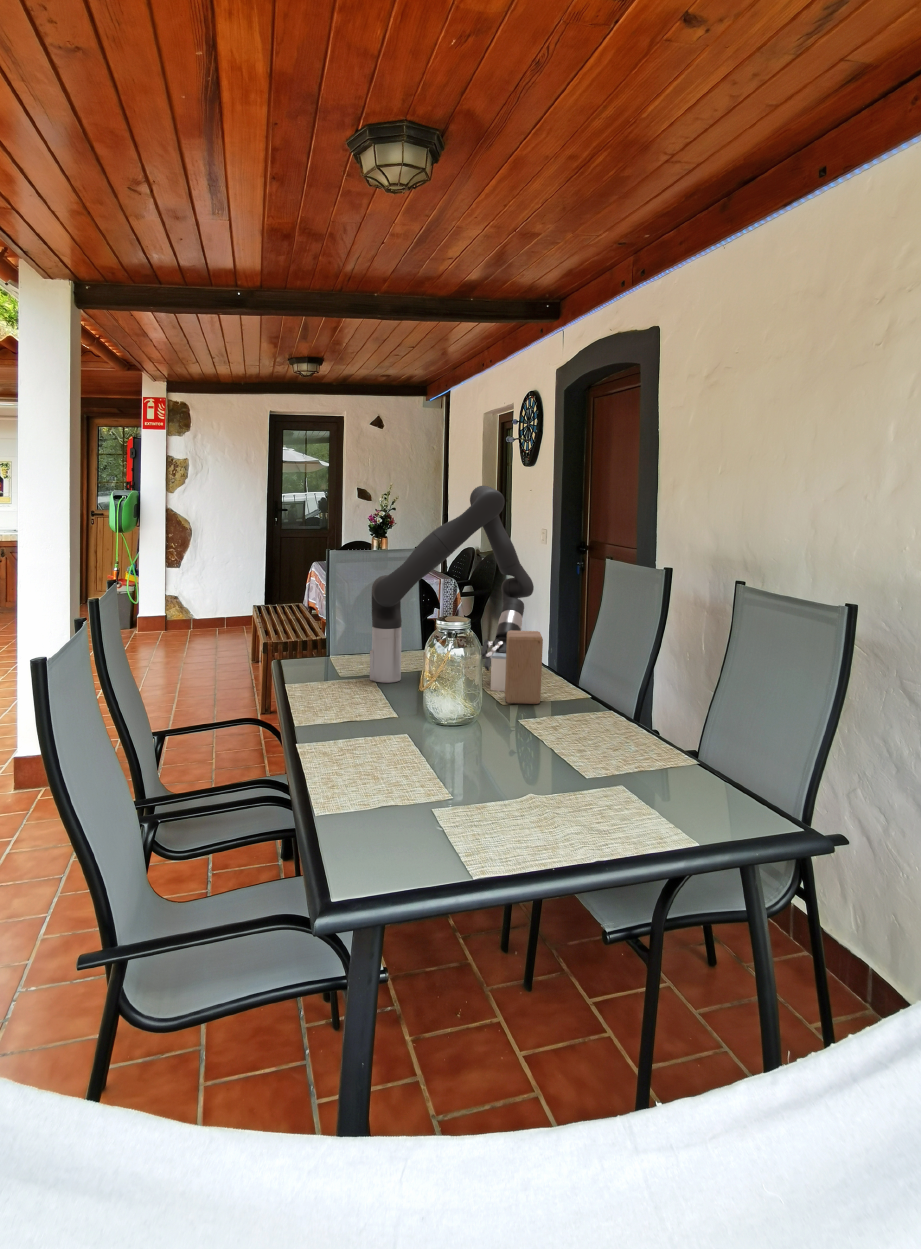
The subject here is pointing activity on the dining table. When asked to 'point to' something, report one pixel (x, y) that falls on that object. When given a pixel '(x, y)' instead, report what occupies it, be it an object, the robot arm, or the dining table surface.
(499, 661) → the beige upright block
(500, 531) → the robot arm
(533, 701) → the wooden block
